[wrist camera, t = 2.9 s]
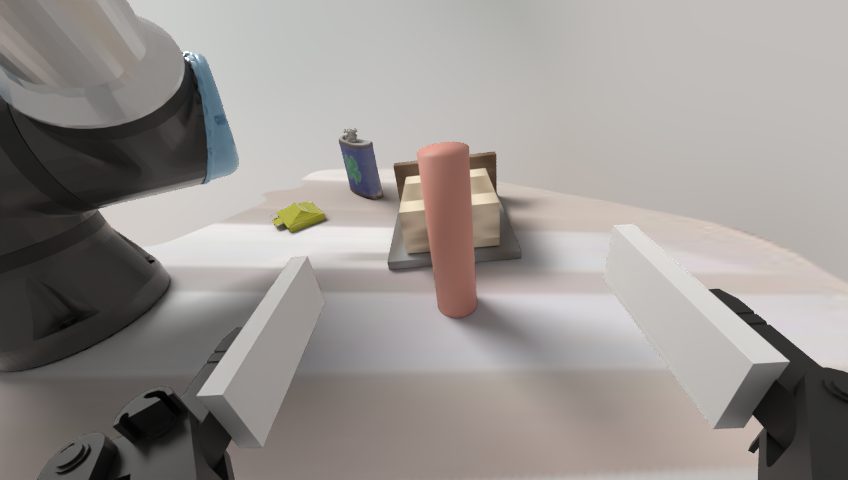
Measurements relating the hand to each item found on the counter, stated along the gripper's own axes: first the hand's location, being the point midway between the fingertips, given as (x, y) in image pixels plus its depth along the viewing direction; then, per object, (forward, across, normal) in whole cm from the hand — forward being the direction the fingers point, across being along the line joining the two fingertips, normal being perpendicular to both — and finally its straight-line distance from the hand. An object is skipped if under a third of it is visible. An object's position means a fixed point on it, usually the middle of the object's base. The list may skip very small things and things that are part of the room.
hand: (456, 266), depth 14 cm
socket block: (+22, 0, -10) cm, 24 cm away
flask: (+39, -14, -11) cm, 43 cm away
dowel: (+10, 0, -12) cm, 15 cm away
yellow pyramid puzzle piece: (+31, -23, -12) cm, 41 cm away
